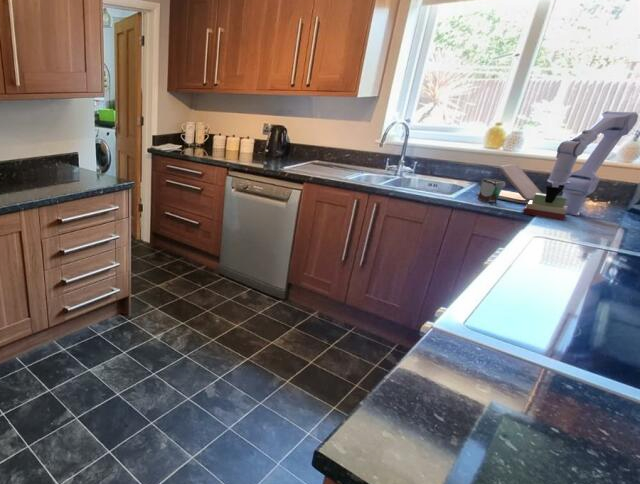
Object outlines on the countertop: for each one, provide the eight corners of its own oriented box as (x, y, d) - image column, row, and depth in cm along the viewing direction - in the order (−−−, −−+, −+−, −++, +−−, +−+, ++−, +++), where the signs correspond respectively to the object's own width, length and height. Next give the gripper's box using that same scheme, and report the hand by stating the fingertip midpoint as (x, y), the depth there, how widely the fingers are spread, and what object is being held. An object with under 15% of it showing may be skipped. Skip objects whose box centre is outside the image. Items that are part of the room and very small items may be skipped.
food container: (504, 205, 199) (512, 184, 195) (490, 203, 200) (497, 183, 196) (489, 198, 210) (496, 178, 207) (475, 197, 211) (482, 177, 208)
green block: (532, 201, 188) (536, 192, 187) (563, 206, 182) (567, 197, 180) (531, 203, 185) (535, 194, 184) (562, 208, 178) (566, 198, 177)
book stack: (525, 209, 193) (528, 199, 191) (564, 215, 184) (568, 206, 183) (522, 213, 186) (526, 203, 184) (563, 220, 177) (567, 210, 175)
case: (525, 205, 201) (538, 171, 195) (474, 195, 217) (485, 163, 211) (542, 201, 210) (555, 168, 204) (492, 191, 227) (503, 161, 221)
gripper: (574, 173, 170) (560, 206, 175) (575, 170, 180) (562, 201, 185) (551, 170, 175) (538, 202, 180) (553, 167, 184) (540, 197, 190)
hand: (548, 201), depth 183 cm, fingers closed on green block, 5 cm apart
